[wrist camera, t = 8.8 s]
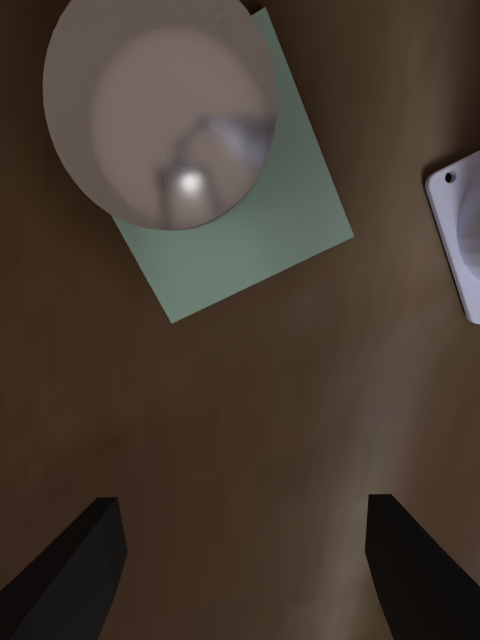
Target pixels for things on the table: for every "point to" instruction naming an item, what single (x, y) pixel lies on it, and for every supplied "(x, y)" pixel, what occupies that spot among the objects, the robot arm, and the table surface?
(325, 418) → the table surface
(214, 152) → the polished metal knob
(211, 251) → the rubber mat
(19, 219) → the table surface
